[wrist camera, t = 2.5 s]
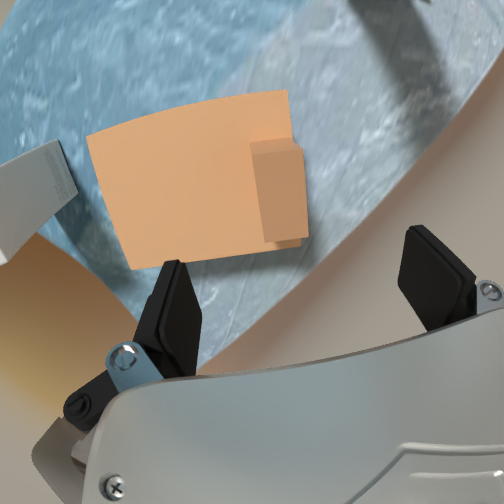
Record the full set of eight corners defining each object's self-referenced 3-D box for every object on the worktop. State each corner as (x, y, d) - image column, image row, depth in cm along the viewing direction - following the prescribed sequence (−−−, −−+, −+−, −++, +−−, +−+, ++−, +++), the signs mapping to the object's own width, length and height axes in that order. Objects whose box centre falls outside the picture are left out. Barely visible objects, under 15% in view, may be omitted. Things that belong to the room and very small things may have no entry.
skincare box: (29, 156, 25) (-53, 205, 12) (61, 135, 24) (-32, 178, 11) (50, 210, 29) (-20, 276, 16) (82, 195, 29) (6, 264, 15)
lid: (283, 90, 19) (300, 86, 13) (297, 235, 26) (313, 280, 20) (96, 133, 20) (52, 149, 14) (137, 258, 27) (114, 303, 21)
